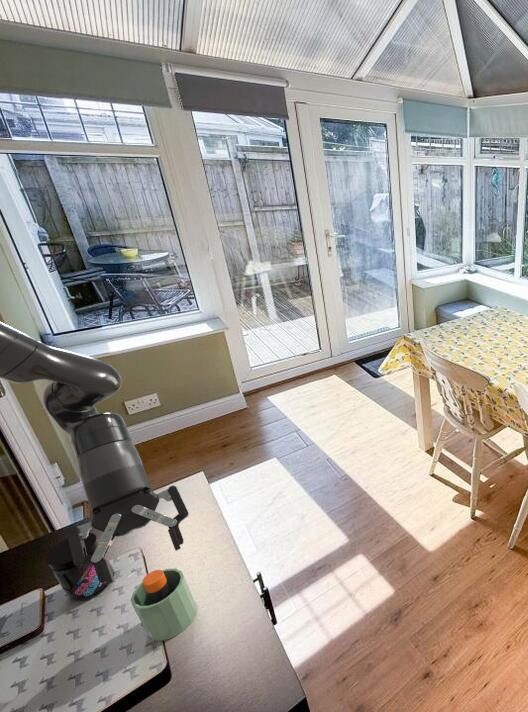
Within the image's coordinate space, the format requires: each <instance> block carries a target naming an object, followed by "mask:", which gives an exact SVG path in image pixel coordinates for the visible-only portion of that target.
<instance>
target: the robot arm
mask: <svg viewBox="0 0 528 712" xmlns="http://www.w3.org/2000/svg"><path fill="white" fill-rule="evenodd" d="M0 379H1V380H2V381H6V382H9V383H12V384H17V385H22V384H28V383H32V382H36V381H40V380H41V381H42V380H45V381H50V382H48V383H47V384H46V385H45V387H44V389H43V390H42V404H43V407H44V409H45V410H46V412H47V413H48V414H49V416H50V417H51V418H52V419H53V421H54V422H55V423H56V424H57V425H58V427H59V428H60V429H61V430H62V431H63V432H64V434H65V435H66V436H67V437H68V438H69V442H70V445H71V448H72V451H73V454H74V457H75V460H76V466H77V472H78V476H79V478H80V481H81V485H82V487H83V490H84V493H85V496H86V499H87V502H88V505H89V509H90V510H91V514H92V518H91V521H89V522H86V523H84V524H81V525H79V526H78V525H77V526H71V527H69V528H68V529H67V530H66V536H67V538H68V541H69V545H70V550H71V554H72V558H73V563H74V565H75V566H83V565H88V564H92V565H93V566H94V568H95V571H96V574H97V577H98V580H99V581H100V582H101V583H104V582H106V583H107V585H108V584H109V585H111V584H113V583H115V576H114V577H113V574H112V571H111V568H110V565H109V562H110V561H109V562H108V560H109V558H108V559H105V556H107V555H108V552H109V550H110V548H111V547H112V546H113V544H114V542H115V539H116V538H117V537H118V538H119V537H124V536H125V535H128V534H130V533H132V532H133V531H135V530H138V529H141V528H144V527H146V526H147V525H149V523H151V521H152V522H155V523H157V524H160V525H162V526H165V527H168V529H167V532H168V534H169V538H170V540H171V543H172V546H173V548H174V550H175V552H177V551H179V550H181V549H182V547H181V545H183V544H184V537H183V534H182V532H181V529H180V524H181V523H182V522H183V521H184V520H185V519H186V518H188V517H189V510H188V509H187V507H186V504H185V502H184V500H183V498H182V496H181V494H180V492H179V489H178V488H177V486H176V485H170V486H169V487H168V488H167V489H165V490H162V491H161V492H158V493H155V492H154V491H153V489H152V486H151V483H150V481H149V478H148V475H147V473H146V470H145V467H144V464H143V459H142V458H141V457H140V453H139V451H138V450H137V448H136V446H135V445H134V442H133V440H132V437H131V434H130V432H129V429H128V427H127V424H126V422H125V419H124V418H123V417H122V415H120V414H119V413H116V412H102V413H100V412H99V411H98V410H97V407H96V406H97V405H98V404H100V403H102V402H104V401H106V400H107V399H109V398H111V397H112V396H114V395H115V394H117V393H118V392H119V391H120V389H121V388H122V385H123V380H122V379H123V378H122V376H121V374H120V373H119V371H118V370H117V369H116V368H115V367H113V366H112V365H110V364H109V363H107V362H105V361H103V360H101V359H98V358H95V357H92V356H88V355H85V354H81V353H78V352H73V351H71V350H66V349H62V348H59V347H54V346H51V345H48V344H46V343H44V342H42V341H40V340H38V339H36V338H34V337H33V336H31V335H28V334H26V333H24V332H22V331H20V330H18V329H16V328H13V327H12V326H10V325H8V324H6V323H4V322H1V321H0ZM160 500H165V502H167V503H169V502H172V503H173V505H174V508H175V509H176V511H177V514H176V515H175V516H173V517H170V516H167V515H165V514H163V513H160V512H158V511H156V509H157V507H158V505H159V503H160ZM92 529H95V530H97V531H99V532H102V535H101V537H100V539H99V543H98V546H97V548H96V550H95V552H94V554H93V555H89V556H87V552H86V548H85V544H84V540H83V539H85V538H87V537H88V535H89V533H90V530H92Z"/></svg>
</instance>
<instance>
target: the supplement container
mask: <svg viewBox="0 0 528 712" xmlns="http://www.w3.org/2000/svg"><path fill="white" fill-rule="evenodd" d="M83 540H84V544H85V548H86V552H87V556H89V555H93V554H94V552H95V550H96V548H97V546H98V543H99V541H100V539H99V538H98V537H97V535H96V534H95V533H93V532H89V535H88V537H87V538H85V539H83ZM105 559H108V562H109V565H110V568H111V571H112V574H113V577H114V578H115V574H116V573H115V571H116V570H115V569H114V568H113V566H112V564H111V562H110V560H109V558H108V556H107V555H106V556H105ZM44 561H45V564H46V565H47V566H48V569H49V570H50V571H51V573H52V574H53V576H54V578H55V579H56V580H57V582H58V583H59V585H60V587H61V588H62V590H63V592H64V593H65V595H66V596H67V598H68V599H69V600H71V601H74V602H81V601H85V600H88V599H91V598H93V596H94V597H96V596H98V595H100V593H102V592H103V591H105V590H106V589H107V588H108V587H109V586H110V584H108V585H109V586H108V585H107V583H106V582H104V583H101V582H100V581H99V580H98V577H97V574H96V571H95V568H94V566H93V565H92V564H88V565H83V566H75V565H74V563H73V558H72V554H71V550H70V545H69V541H68V537H67V538H65V539H63V540H62V541H60V542H58V543H57V544H55V545H54V546H53V547H52V548H51V549H50V550H49V551H48V552H47V554H46V555H45V557H44ZM107 586H108V587H107ZM106 587H107V588H106ZM105 588H106V589H105ZM101 591H102V592H101ZM95 595H96V596H95Z"/></svg>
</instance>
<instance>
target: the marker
mask: <svg viewBox="0 0 528 712" xmlns="http://www.w3.org/2000/svg"><path fill="white" fill-rule="evenodd" d="M162 570H163V569H155V570H153V571H151V572H149V573H147V574H146V575H145V576H144V577H143V579H142V581H141V583H142V584H143V586H144V588H145V590H146V592H148V594H149V596H150V598H151V600H152V602H153V604H155V603H158V602H160V601H161V600H163V599H165V598H166V597H168V596H169V595H170V594H171V593H172V592H171V590H170V588H169V585H168V583H167V579H166V577H165V575H164V573H163V571H162Z"/></svg>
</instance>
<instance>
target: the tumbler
mask: <svg viewBox="0 0 528 712" xmlns="http://www.w3.org/2000/svg"><path fill="white" fill-rule="evenodd" d="M161 570H162V571H163V573H164V575H165V577H166V579H167V583H168V585H169V588H170V590H171V592H172V593H171V594H170V595H169V596H168V597H166V598H165V599H163V600H161V601H160V602H158V603H155V604H153V602H152V600H151V598H150V596H149V594H148V592H146V590H145V588H144V586H143V584H142V582H140V583H139V584H138V586H136V588H135V589H134V590H133V592H132V594H131V598H130V603H131V606H132V608H133V609H134V611H135V613H136V615H137V617H138V619H139V621H140V623H141V624H142V626H143V628H144V630H145V632H146V634H147V636H148V637H149V638H150V639H151V640H152V641H155V642H163V641H168V640H170V639H173V638H174V637H176V636H178V635H180V634H181V633H182V632H184V631H185V630H186V629H187V628H188V627H189V626H190V625H191V623H192V622H193V621H194V619H195V617H196V615H197V611H198V606H197V604H196V602H195V599H194V597H193V594H192V592H191V590H190V587H189V585H188V583H187V580H186V579H185V575H184V574H183V572H182V570H181V569H179V568H174V567H173V568H165V569H161Z"/></svg>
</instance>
